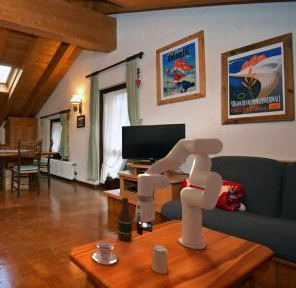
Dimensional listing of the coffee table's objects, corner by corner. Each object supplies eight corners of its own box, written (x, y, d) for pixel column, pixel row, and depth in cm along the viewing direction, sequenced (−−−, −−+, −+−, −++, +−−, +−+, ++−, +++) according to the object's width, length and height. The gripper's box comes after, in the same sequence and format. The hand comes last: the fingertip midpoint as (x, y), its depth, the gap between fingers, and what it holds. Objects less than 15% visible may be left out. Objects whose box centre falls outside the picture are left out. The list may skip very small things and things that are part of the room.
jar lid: (136, 229, 110) (136, 225, 110) (139, 224, 116) (139, 221, 116) (150, 232, 106) (150, 228, 106) (153, 227, 112) (153, 224, 112)
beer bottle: (132, 242, 122) (133, 200, 122) (118, 241, 124) (118, 199, 123) (130, 236, 130) (131, 197, 129) (117, 235, 131) (117, 196, 131)
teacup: (119, 255, 108) (119, 243, 108) (114, 267, 97) (115, 254, 97) (95, 250, 113) (95, 238, 113) (89, 261, 103) (89, 248, 102)
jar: (155, 263, 101) (155, 243, 101) (170, 269, 96) (170, 248, 96) (148, 268, 97) (148, 247, 97) (163, 275, 92) (164, 253, 92)
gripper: (140, 202, 103) (139, 239, 104) (162, 198, 112) (161, 232, 112) (127, 198, 110) (127, 233, 110) (149, 195, 119) (149, 227, 119)
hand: (144, 232), depth 111 cm, fingers closed on jar lid, 7 cm apart
